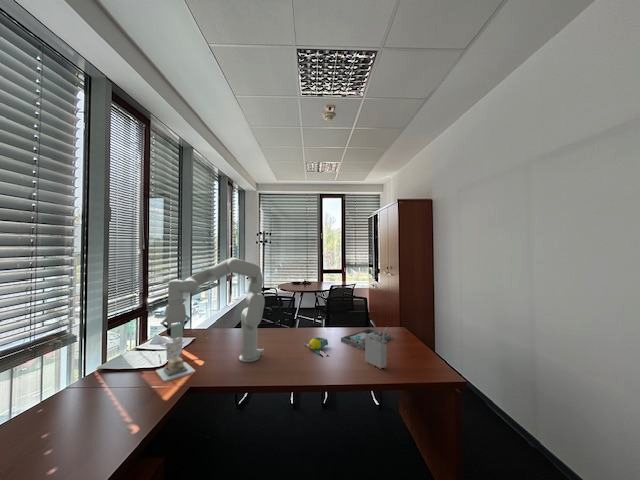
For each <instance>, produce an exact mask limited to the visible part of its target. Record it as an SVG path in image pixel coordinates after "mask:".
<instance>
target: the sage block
mask: <svg viewBox="0 0 640 480" xmlns="http://www.w3.org/2000/svg"><path fill="white" fill-rule="evenodd" d="M170 329H171V336H168V337H169V338H170V339H172V340H173V338H179V337H181V336H182V337H184V333H183V325H182V324H181V322H178V323H172V324H171V326H170Z"/></svg>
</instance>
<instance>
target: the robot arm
mask: <svg viewBox="0 0 640 480" xmlns="http://www.w3.org/2000/svg"><path fill="white" fill-rule="evenodd" d="M261 270H262V269H261V266H260V265H259V264H258V263H255V262H250V261H247V260H243V259H239V258H238V257H229V258H227V259H225V260H223V261H221V262H219V263H218V264H215V265H213V266H211V267H208V268H206V269H205V270H202V271H199V272H197V273H195V274H193V275H190V276H189V277H187V278H186V279H184V280H182V279H172V280H169V281H168V283H167V285H168V286H167V287H168V291H167V292H168V294H167V295H168V297H167V299H168V300H167V301H168V302H167V303H168V304H166V306H165V312H164V318H163V319H162V320H161V321H160V325H162V326H163V327H164V328H166V335H167V336H168V337H169V336H171V329H170V326H171V325H172V324H177V323H180V324H182V325H183V334H185V326H186V324H188V322H189V321H190V320H191V317H190V316H189V315H187V311H186V305H185V302H186V301H187V299H186V298H184V293H187V294H192V293H195V292H197V290H198V289H199V286H202V285H204V284H206V283H209V282H210V283H211V282H214V281H215V282H216V281H218V280H220V279H222V278H224V277H227V276H228V275H231V274H232V273H234V274H237V275H241V276H245V277H248V287H247V291H246V296H245V301H246V304H247V305H248V306H247V307H245V308H243V310H242V312H241V315H240V323H241V354H240V355H239V357H238V359H239V361H240V362H243V363H252V362H255V361H257V360H259V359H260V357H261V356H260V355H261V353H264V352H265V348H258V326H259V324H260V323H261V322H262V318H263V313H264V308H265V303H266V301H265V300H266V299H265V296H264V295H263V294H262V291H263V284H264V277H263V274H262V271H261Z"/></svg>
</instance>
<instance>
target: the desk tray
mask: <svg viewBox="0 0 640 480" xmlns="http://www.w3.org/2000/svg"><path fill="white" fill-rule="evenodd" d="M375 331H377V332H381V335H378V336H383V332H384V331H380V330H377V329H373V328H370V327H368V328H364V329H362V330H359V331H357V332H354V333H351V334H348V335H345V336H342V337H340V343H343V342H344V343H343V344H346V343H347V344H346V345H348V344H351V345H354V346H356V347H355V348H357V347H360V348H362V349H365V344H360V343H359V342H358V343H357V342H354V341H351V340H350V336H354V335H356V334H360V333H366V334H370V333H373V332H375ZM374 334H375V335H377V334H380V333H374ZM391 339H392V334H390V333H387V332H385V335H384V340H386V341H388V340H391ZM351 345H350V346H351ZM354 346H353V347H354ZM360 348H359V349H360ZM362 349H361V350H362Z"/></svg>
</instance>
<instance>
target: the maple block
mask: <svg viewBox="0 0 640 480" xmlns="http://www.w3.org/2000/svg"><path fill="white" fill-rule="evenodd" d="M183 362H184V359H183V357H181V358H180V357H177V358H173V359H169V360H168V362H167V365H168V366H167V367H168V371H169V372H170V373H172V372H175V371H179V370H182V369H183Z"/></svg>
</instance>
